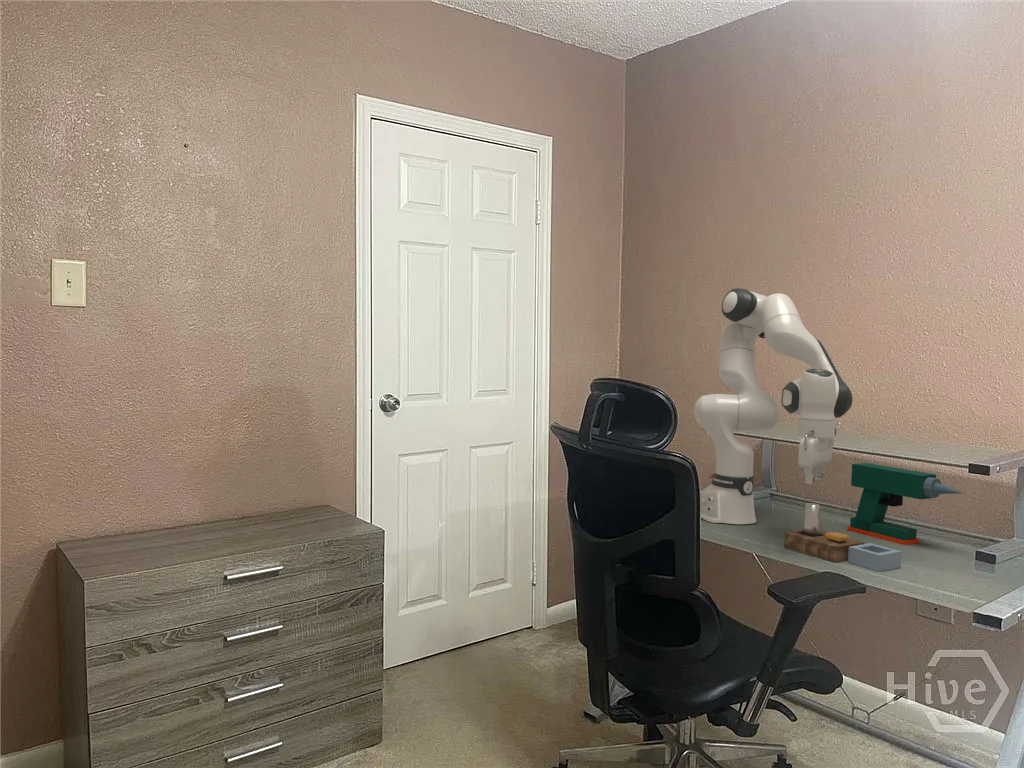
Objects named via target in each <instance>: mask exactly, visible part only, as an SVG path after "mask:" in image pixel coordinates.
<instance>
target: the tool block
mask: <svg viewBox="0 0 1024 768" xmlns="http://www.w3.org/2000/svg"><path fill="white" fill-rule="evenodd" d="M825 533H828V532H825V531H823V530H819V533H818V537H810V536H806V535H804V529H801V530H794V531H787V532H786V531H785V532H784V548H785V547H786V549H790V550H792V549H793V550H792V551H795V550H796V551H795V552H799V553H802V552H803V554H805V553H806V555H808V554H809V555H808V556H811V557H816V558H819V559H822V560H825V561H829V562H833V563H835V564H836V563H840V562H841V563H842V562H848V552H849V547H850V546H856V545H862V544H865V542H864V541H861V540H856V539H852V538H850V537H849V540H848V541H844V542H842V543H836V542H833V541H830V539H828V538H825Z"/></svg>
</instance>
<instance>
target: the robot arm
mask: <svg viewBox="0 0 1024 768" xmlns="http://www.w3.org/2000/svg"><path fill="white" fill-rule="evenodd" d="M721 312H722V315H723V316H724V317H725V318H726V319H728V320H729V321H731V322H730V323H727V324H726V325H725V326H724V327H723V329H722V331H721V336H720V339H719V340H720V341H719V349H718V350H719V351H718V377H719V379H720V380H721V381H722V383H724V384H725V385H726V386H728V387H730V388H732V389H734V390H735V391H736V392H737V394H732V393H731V394H730V393H712V394H711V393H710V394H705V395H701V396H700V397H699V398H697V400H696V402H695V403H694V408H693V415H694V419H695V420H696V422H697V424H699V426H700V427H701V428H703V429H704V430H705V431H706V432H707V433H708V435H709V437H710V438H711V439H712V442H713V446H714V449H715V460H716V461H715V463H716V464H715V466H716V467H715V473H710V474H709V477H708V479H711V483H710V484H709V485H708V486H707V487H705V488H704V489H702V490H700V492H701V518H700V519H701V520H703V521H707V522H709V523H717V524H718V523H719V524H720V523H721V524H730V525H750V524H755V523H757V518H756V513H755V501H754V493H753V491H754V488H755V475H754V460H755V459H754V457H755V456H754V455H755V454H754V450H753V449H752V447H751V446H750V445H749V444H747V443H745V442H743V441H742V440H740V439H738V438H737V437H736V436H735V434H734V432H735V431H753V432H759V431H760V432H761V431H768V430H769V431H770V430H774V429H775V428H776V427H777V426H778V425H779V423H780V421H781V417H782V408H781V406H782V407H783V408H784V410H785V411H786V412H788V414H791V415H795V416H799V421H798V436H800V437H803V438H801V439H800V442H799V448H798V458H797V459H798V460H797V465H798V467H799V468H803V473H804V478H805V480H804V482H805V484H806V485H812V484H814V483H815V480H816V481H822V480H824V473H825V469H826V464H827V463H830V462H831V461H832V458H833V453H834V452H833V451H834V444H835V443H834V442H835V437H836V436H837V433H838V432H837V427H836V419H839V418H841V417H843V416H844V415H845V414H847V413H848V412H849V410H850V409H851V408H852V405H853V400H854V399H853V393H852V390H851V389H850V387H849V386H848V385H847V383H846V382H845V381H844V380H843V378H842V377H841V376H840V374H839V372H838V371H837V368H836V366H835V364H834V362H833V361H832V359H831V357H830V355H829V353H828V352H827V350H826V348H825V347H824V344H822V342H821V341H820V340H819V339H818V338H817V337H815V336H814V335H813V334H811V333H810V331H808V329H807V328H806V327H805V325H804V323H803V322H802V319H801V316H800V313H799V311H798V309H797V307H796V304H795V303H794V301H793V300H792V299H791V297H789V295H786V294H785V293H778V292H777V293H773V294H770V295H768V296H767V295H764V294H761V293H757V292H755V291H750V290H748V289H746V288H740V287H739V288H737V287H736V288H732V289H731V290H729V291H728V292H727V293H726V294H725V296H724V298H723V299H722V302H721ZM758 337H759V338H761V339H765V341H766V343H767V345H768V346H769V347H770V349H772V351H774V352H776V353H777V354H779V355H781V356H786V357H790V358H793V359H796V360H799V361H802V362H804V363H806V364H807V365H809V366H810V367H811V368H808V369H804V371H803V372H802V376H801V377H799V378H798V379H796V380H792V381H789V382H788V383H786V384H785V385H784V387H782V388H783V389H782V390H781V406H780V404H779V402H778V400H776V398H774V397H772V396H771V395H770V394H769V393H768V392H767V391H765V389H764V388H763V387H762V385H761V383H760V382H759V379H758V376H757V369H756V340H757V338H758ZM814 468H816V469H814ZM814 470H815V473H814ZM702 518H703V519H702Z"/></svg>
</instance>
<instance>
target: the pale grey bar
mask: <svg viewBox="0 0 1024 768" xmlns="http://www.w3.org/2000/svg"><path fill="white" fill-rule="evenodd" d="M820 508H821V505H820V504H818V503H812V502H806V503H805V508H804V528H803V530H804V535H806V536H810V537H818V533H819V531H820V530H819V529H820V511H821V510H820Z"/></svg>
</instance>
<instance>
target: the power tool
mask: <svg viewBox="0 0 1024 768" xmlns="http://www.w3.org/2000/svg"><path fill="white" fill-rule="evenodd" d="M850 477H851V479H850V481H851V482H850V486H852V487H854V488H861V489H862V493H861V497H860V500H859V502H858V506H857V511H856V513H855V516H854V517H850V520H849V523H850V524H849V526H847V529H846V531H848V532H853V533H857V534H861V535H864V536H868V537H871V538H876V539H879V540H883V541H887V542H891V543H895V544H899V545H903V546H907V545H914V544H919V543H920V538H917V534H918V533H917V531H918V529H917V528H915V527H909V526H904V525H899V524H897V523H893V522H887V521H884V520H885V517H886V513H887V511H888V508H889V507H894V508H895V507H900V506H903V500H904V499H903V498H904V497H907V498H912V499H916V500H927V499H928V500H929V499H936V498H939V497H940V495H950V494H951V495H953V494H954V495H956V494H963V492H961V491H959V490H956V489H954V488H952V487H949V486H947V485H944V484H942V482H941V480H940V479H939V478H937V474H935V473H929V472H924V471H923V472H922V471H918V470H910V469H906V468H900V467H893V466H886V465H881V464H875V463H868V462H859V463H852V464H851V476H850Z"/></svg>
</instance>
